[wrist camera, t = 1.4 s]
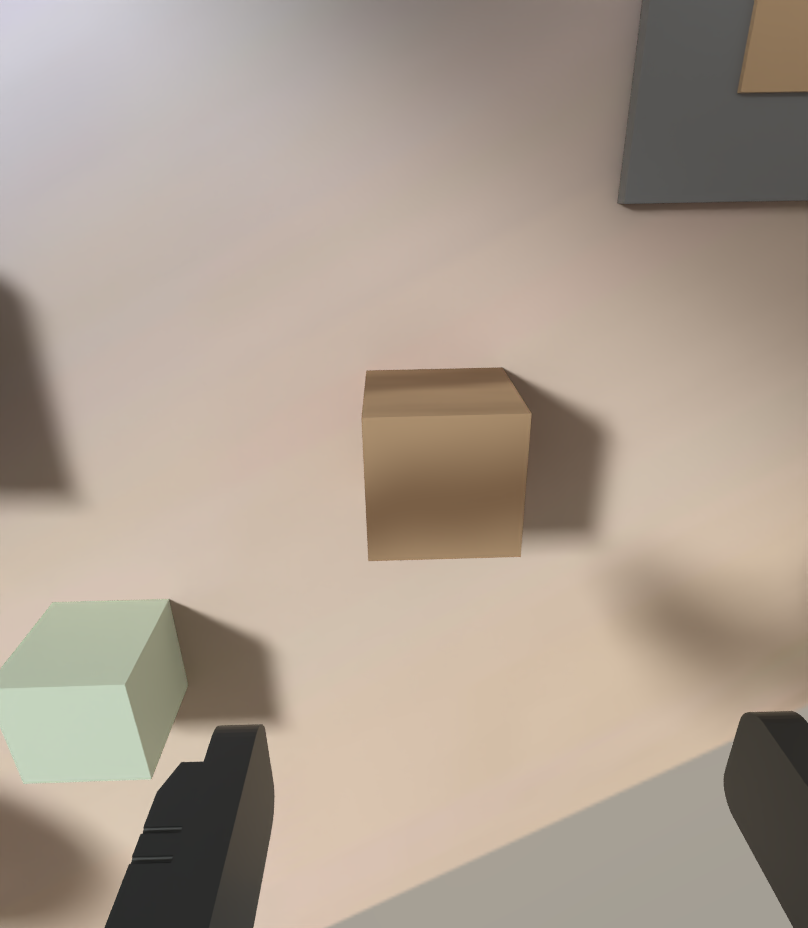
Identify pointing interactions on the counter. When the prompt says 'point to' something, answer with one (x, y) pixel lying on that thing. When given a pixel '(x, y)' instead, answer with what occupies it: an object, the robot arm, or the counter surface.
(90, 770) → the sage green block
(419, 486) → the walnut block
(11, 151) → the counter surface
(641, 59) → the card
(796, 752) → the robot arm
